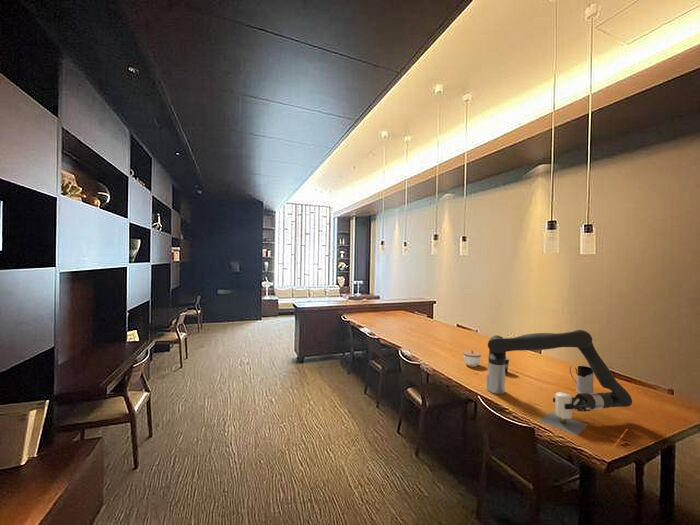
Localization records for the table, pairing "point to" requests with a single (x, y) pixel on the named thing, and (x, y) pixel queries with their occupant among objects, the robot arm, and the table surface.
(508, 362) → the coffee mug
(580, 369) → the glass holder
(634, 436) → the table surface
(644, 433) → the table surface
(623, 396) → the robot arm
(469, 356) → the lidded bowl
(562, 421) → the brass candle
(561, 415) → the cup
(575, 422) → the slate mat
